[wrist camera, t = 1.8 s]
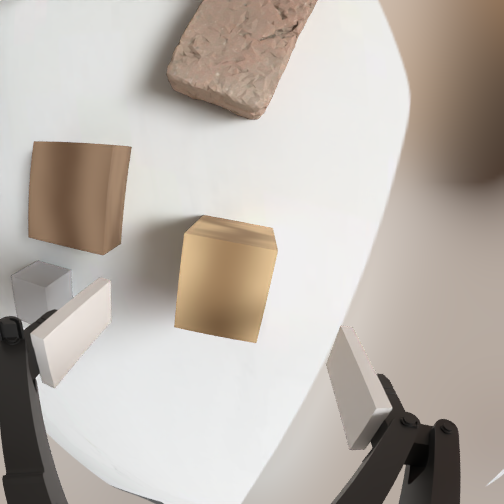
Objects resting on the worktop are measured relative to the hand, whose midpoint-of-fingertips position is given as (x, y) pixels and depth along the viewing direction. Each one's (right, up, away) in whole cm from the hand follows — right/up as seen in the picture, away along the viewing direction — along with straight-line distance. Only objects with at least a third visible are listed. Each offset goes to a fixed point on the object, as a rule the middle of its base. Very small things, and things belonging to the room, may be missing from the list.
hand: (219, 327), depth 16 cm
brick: (+2, +23, +5) cm, 24 cm away
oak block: (0, +3, +11) cm, 11 cm away
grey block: (-20, 0, +12) cm, 23 cm away
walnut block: (-14, +10, +9) cm, 20 cm away
